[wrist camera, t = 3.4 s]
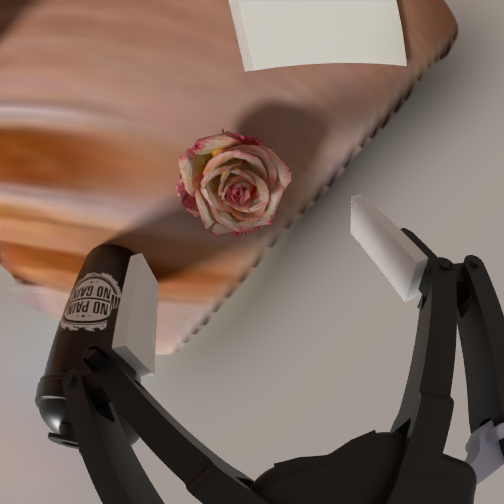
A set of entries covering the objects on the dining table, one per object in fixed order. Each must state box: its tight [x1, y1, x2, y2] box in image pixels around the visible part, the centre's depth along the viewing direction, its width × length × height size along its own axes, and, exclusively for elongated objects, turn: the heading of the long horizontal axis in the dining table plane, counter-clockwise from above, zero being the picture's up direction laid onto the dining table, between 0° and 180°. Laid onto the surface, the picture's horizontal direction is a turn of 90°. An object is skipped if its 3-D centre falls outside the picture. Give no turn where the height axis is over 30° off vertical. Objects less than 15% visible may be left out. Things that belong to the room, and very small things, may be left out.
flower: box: [176, 128, 292, 238], centre depth 23 cm, size 10×9×8 cm
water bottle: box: [35, 245, 141, 456], centre depth 22 cm, size 10×10×23 cm
